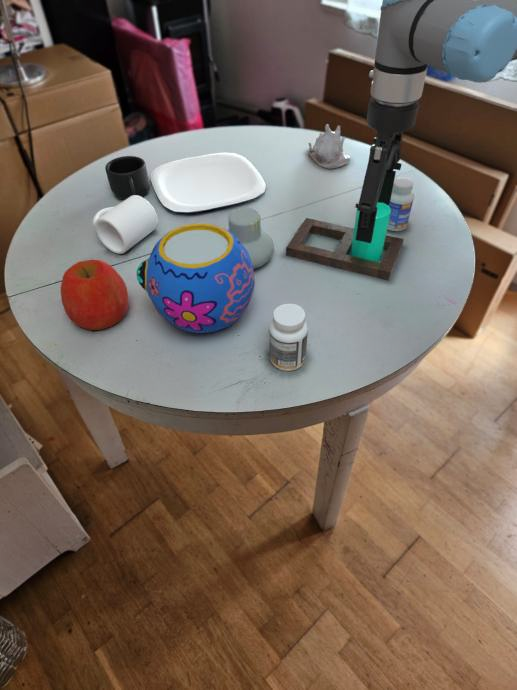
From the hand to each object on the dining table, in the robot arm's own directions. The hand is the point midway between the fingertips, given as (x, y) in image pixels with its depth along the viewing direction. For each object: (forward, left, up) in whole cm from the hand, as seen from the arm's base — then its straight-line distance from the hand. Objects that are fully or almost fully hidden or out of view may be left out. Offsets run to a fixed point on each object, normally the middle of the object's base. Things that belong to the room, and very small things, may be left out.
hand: (373, 221), depth 87 cm
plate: (+43, -13, -8) cm, 45 cm away
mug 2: (+49, +13, -8) cm, 51 cm away
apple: (+39, +34, -8) cm, 52 cm away
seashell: (+21, -36, -8) cm, 42 cm away
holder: (+5, 0, -8) cm, 9 cm away
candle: (0, 0, -8) cm, 8 cm away
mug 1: (+57, -2, -8) cm, 57 cm away
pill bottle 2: (-2, -13, -8) cm, 16 cm away
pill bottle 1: (+5, +31, -8) cm, 32 cm away
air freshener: (+22, +10, -8) cm, 25 cm away
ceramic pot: (+22, +27, -8) cm, 35 cm away
